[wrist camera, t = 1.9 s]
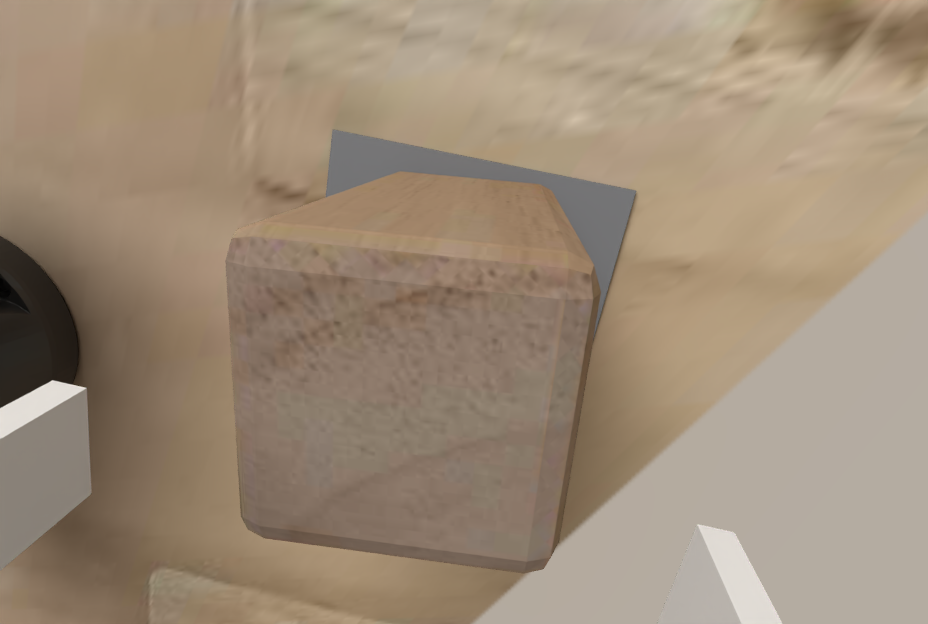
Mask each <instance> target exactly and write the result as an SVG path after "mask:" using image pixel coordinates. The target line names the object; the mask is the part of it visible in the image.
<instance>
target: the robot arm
mask: <svg viewBox="0 0 928 624" xmlns="http://www.w3.org/2000/svg"><path fill="white" fill-rule="evenodd" d="M77 363H78V345H77V337H76V332H75V328H74V324H73V321H72V318H71V316H70V313H69V311H68V308H67V306H66V304H65V302H64V300H63V298H62V297H61V295H60V293H59V292H58V290H57V288H56V287H55V286H54V284H53V283H52V281H51V280H50V279H49V277H48V276H47V275H46V274H45V273H44V271H43V270H42V269H41V268H40V267H39V266H38V265H37V264H36V263H35V262H34V261H33V260H32V259H31V258H30V257H29V256H28V255H26V254H25V253H24V252H23V251H21V250H20V249H19V248H18V247H16V246H15V245H13V244H12V243H10V242H9V241H7V240H6V239H4V238H2V237H0V570H2V569H3V568H4V567H5V566H6V565H8V564H9V563H10V562H11V561H12V560H14V559H15V558H16V557H17V556H18V555H19V554H21V553H22V552H23V551H24V550H25V549H27V548H28V547H29V546H30V545H31V544H33V543H34V542H35V541H36V540H37V539H38V538H40V537H41V536H42V535H43V534H44V533H46V532H47V531H48V530H49V529H50V528H51V527H53V526H54V525H55V524H56V523H57V522H59V521H60V520H61V519H62V518H63V517H65V516H66V515H67V514H68V513H69V512H70V511H72V510H73V509H74V508H75V507H76V506H78V505H79V504H80V503H81V502H82V501H84V500H85V499H86V498H87V497H88V496H89V495H91V494H92V493H91V471H90V448H89V425H88V403H87V388H85V387H80V386H76V385H72V383H73V380H74V377H75V374H76V369H77ZM657 624H782V622H781V620H780V618H779V616H778V614H777V612H776V611H775V609H774V607H773V605H772V603H771V601H770V599H769V597H768V595H767V593H766V592H765V590H764V588H763V586H762V584H761V582H760V580H759V578H758V577H757V575H756V573H755V571H754V569H753V567H752V565H751V563H750V561H749V559H748V557H747V556H746V554H745V552H744V550H743V548H742V546H741V544H740V542H739V541H738V538H737V537H736V535H735V533H734V532H730V531H726V530H721V529H717V528H712V527H708V526H703V525H699V524H697V526H696V528H695V531H694V533H693V536H692V538H691V541H690V543H689V546H688V548H687V550H686V553H685V556H684V558H683V560H682V563H681V565H680V568H679V570H678V573H677V575H676V578H675V580H674V583H673V585H672V587H671V590H670V592H669V595H668V597H667V600H666V602H665V605H664V607H663V610H662V612H661V615H660V617H659V620H658V622H657Z"/></svg>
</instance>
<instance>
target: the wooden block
mask: <svg viewBox="0 0 928 624" xmlns="http://www.w3.org/2000/svg"><path fill="white" fill-rule="evenodd" d="M226 276H227V292H228V309H229V325H230V342H231V358H232V375H233V392H234V408H235V425H236V441H237V458H238V474H239V491H240V508H241V517H242V519H243V521H244V523H245V525H246V527H247V528H248V530H250V531H252V532H254V533H256V534H258V535H259V536H261V537H263V538H267V539H274V540H282V541H289V542H296V543H304V544H311V545H318V546H326V547H333V548H341V549H348V550H355V551H363V552H370V553H378V554H385V555H392V556H400V557H407V558H415V559H422V560H429V561H437V562H444V563H451V564H459V565H466V566H474V567H481V568H488V569H496V570H503V571H511V572H518V573H527V572H532V571H536V570H541V569H544V567H545V566H546V564H547V562H548V561H549V559H550V558H551V556H552V554H553V552H554V550H555V548H556V546H557V544H558V542H559V538H560V532H561V526H562V520H563V514H564V508H565V502H566V496H567V490H568V485H569V479H570V473H571V467H572V461H573V455H574V449H575V443H576V437H577V431H578V425H579V420H580V414H581V408H582V402H583V396H584V390H585V384H586V378H587V372H588V366H589V361H590V355H591V349H592V343H593V337H594V331H595V325H596V319H597V313H598V307H599V302H600V296H601V290H600V286H599V282H598V278H597V275H596V271H595V267H594V264H593V262H592V260H591V259H590V257H589V255H588V253H587V252H586V250H585V248H584V246H583V245H582V243H581V241H580V239H579V237H578V236H577V234H576V232H575V230H574V229H573V227H572V225H571V223H570V222H569V220H568V218H567V216H566V215H565V213H564V211H563V209H562V208H561V206H560V204H559V202H558V201H557V199H556V197H555V195H554V194H553V192H552V190H550V189H548V188H546V187H544V186H542V185H541V184H533V183H522V182H511V181H500V180H489V179H479V178H468V177H457V176H446V175H435V174H424V173H413V172H402V171H400V172H397V173H394V174H391V175H388V176H385V177H382V178H379V179H377V180H374V181H371V182H368V183H365V184H362V185H360V186H357V187H354V188H351V189H348V190H346V191H343V192H340V193H337V194H334V195H332V196H329V197H326V198H323V199H320V200H317V201H315V202H312V203H309V204H306V205H303V206H301V207H298V208H295V209H292V210H289V211H286V212H284V213H281V214H278V215H275V216H272V217H270V218H267V219H264V220H261V221H258V222H256V223H253V224H250V225H247V226H244V227H241V228H239V229H237V230H236V232H235V234H234V235H233V237H232V239H231V243H230V247H229V250H228V254H227V258H226Z"/></svg>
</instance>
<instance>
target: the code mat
mask: <svg viewBox="0 0 928 624" xmlns="http://www.w3.org/2000/svg"><path fill="white" fill-rule="evenodd" d="M400 171H402V172H413V173H424V174H435V175H446V176H457V177H468V178H479V179H489V180H500V181H511V182H522V183H533V184H541V185H542V186H544V187H546V188H548V189H550V190H552V192H553V194H554V195H555V197H556V199H557V201H558V202H559V204H560V206H561V208H562V209H563V211H564V213H565V215H566V216H567V218H568V220H569V222H570V223H571V225H572V227H573V229H574V230H575V232H576V234H577V236H578V237H579V239H580V241H581V243H582V245H583V246H584V248H585V250H586V252H587V253H588V255H589V257H590V259H591V260H592V262H593V264H594V267H595V271H596V275H597V278H598V282H599V286H600V290H601V296H600V302H599V307H598V313H597V319H596V325H595V331H594V336H595V332H596V329H597V325H598V322H599V318H600V315H601V311H602V308H603V304H604V301H605V298H606V294H607V291H608V287H609V284H610V280H611V277H612V273H613V270H614V266H615V263H616V259H617V256H618V252H619V249H620V246H621V242H622V239H623V235H624V232H625V228H626V225H627V221H628V218H629V214H630V211H631V207H632V204H633V200H634V197H635V193H636V191H635V190H630V189H625V188H620V187H615V186H610V185H605V184H601V183H596V182H591V181H586V180H581V179H576V178H571V177H566V176H561V175H556V174H551V173H546V172H541V171H536V170H531V169H526V168H521V167H516V166H511V165H506V164H501V163H496V162H492V161H487V160H482V159H477V158H472V157H467V156H462V155H457V154H452V153H447V152H442V151H437V150H432V149H427V148H422V147H417V146H412V145H407V144H402V143H397V142H392V141H387V140H383V139H378V138H373V137H368V136H363V135H358V134H353V133H348V132H343V131H338V130H333V132H332V141H331V151H330V161H329V170H328V180H327V189H326V197H329V196H332V195H334V194H337V193H340V192H343V191H346V190H348V189H351V188H354V187H357V186H360V185H362V184H365V183H368V182H371V181H374V180H377V179H379V178H382V177H385V176H388V175H391V174H394V173H397V172H400ZM593 339H594V337H593Z"/></svg>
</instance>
